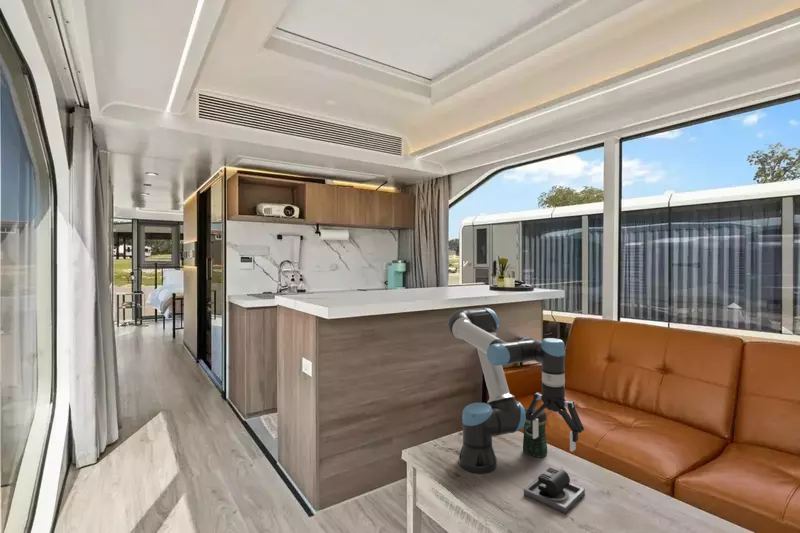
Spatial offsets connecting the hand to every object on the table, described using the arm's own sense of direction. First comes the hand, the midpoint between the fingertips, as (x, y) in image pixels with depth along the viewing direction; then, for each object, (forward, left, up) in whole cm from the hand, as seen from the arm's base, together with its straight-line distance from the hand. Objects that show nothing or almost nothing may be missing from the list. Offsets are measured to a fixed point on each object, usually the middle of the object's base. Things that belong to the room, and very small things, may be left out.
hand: (553, 443), depth 146 cm
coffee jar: (-20, +23, -19) cm, 36 cm away
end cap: (0, 0, -18) cm, 18 cm away
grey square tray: (0, 0, -18) cm, 18 cm away
